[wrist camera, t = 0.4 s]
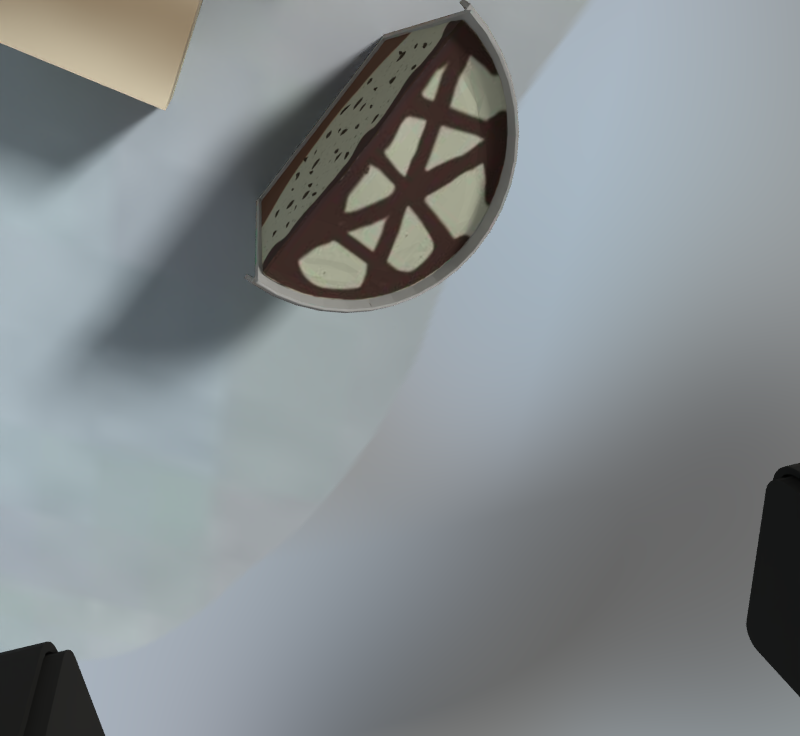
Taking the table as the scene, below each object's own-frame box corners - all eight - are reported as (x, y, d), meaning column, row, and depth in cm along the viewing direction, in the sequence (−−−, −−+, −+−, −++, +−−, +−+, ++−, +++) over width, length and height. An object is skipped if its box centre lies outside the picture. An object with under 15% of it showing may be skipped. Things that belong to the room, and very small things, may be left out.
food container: (338, 301, 37) (379, 386, 28) (236, 226, 34) (247, 295, 25) (500, 102, 34) (601, 126, 26) (406, 5, 32) (482, -5, 23)
